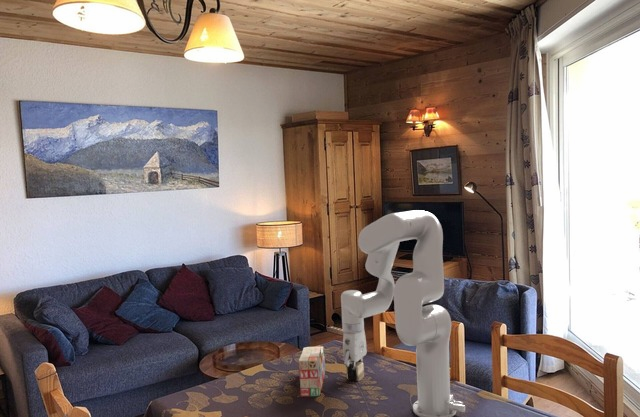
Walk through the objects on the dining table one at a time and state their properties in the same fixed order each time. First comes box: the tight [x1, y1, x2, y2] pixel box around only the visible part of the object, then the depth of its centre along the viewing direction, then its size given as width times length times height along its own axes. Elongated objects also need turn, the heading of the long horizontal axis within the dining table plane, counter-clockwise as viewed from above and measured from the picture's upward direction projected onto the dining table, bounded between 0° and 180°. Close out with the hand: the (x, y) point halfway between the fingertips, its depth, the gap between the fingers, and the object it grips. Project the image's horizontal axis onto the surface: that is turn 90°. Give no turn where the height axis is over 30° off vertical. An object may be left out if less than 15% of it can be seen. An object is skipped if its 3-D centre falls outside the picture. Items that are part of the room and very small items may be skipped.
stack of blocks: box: [298, 346, 326, 397], centre depth 174 cm, size 21×6×12 cm, turn 174°
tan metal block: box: [345, 362, 365, 382], centre depth 176 cm, size 4×4×5 cm
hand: (355, 376), depth 177 cm, fingers closed on tan metal block, 4 cm apart
